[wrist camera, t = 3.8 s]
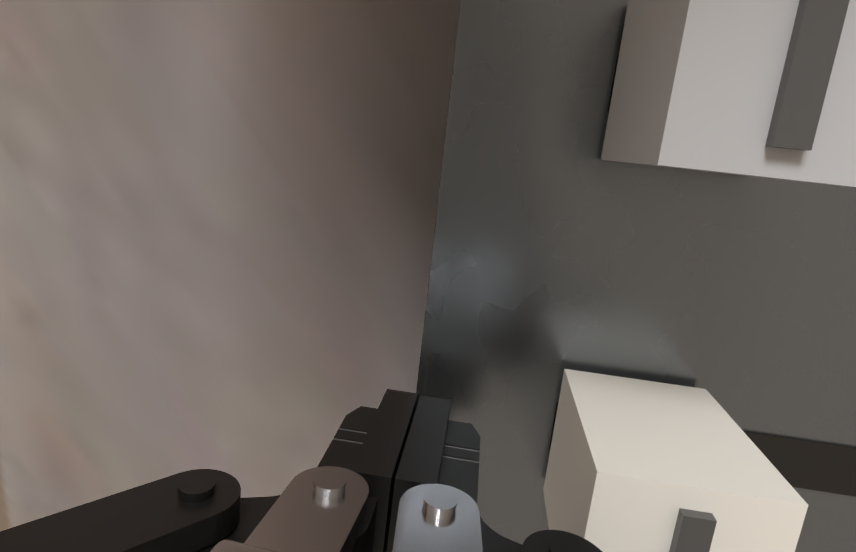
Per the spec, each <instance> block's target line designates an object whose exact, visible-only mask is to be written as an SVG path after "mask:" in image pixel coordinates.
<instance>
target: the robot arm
mask: <svg viewBox="0 0 856 552" xmlns="http://www.w3.org/2000/svg"><path fill="white" fill-rule="evenodd" d="M451 401H452V399H449V398H442V397H436V396H429V395H423V394H421V395H420V398H419V401H418V394H416V393H410V392H403V391H397V390H390V389H387V391H386V393H385V395H384V397H383V399H382V402H381V404H380V406H379V408H378V409H375V408H369V407H362V406H361V407H359V408H357V409H356V410H354V411H352V412H351V413H349V414H348V415H346V417H345V419H344V420H343V422H342V424H341V426H340V429H338V431H337V433H336V435H335V436H334V440H332V442H331V444H330V445H329V447H328V449H327V451H326V453H325V454H324V456H323V458H322V460H321V461H320V463H319V465H318V467H316V468H312V469H308V470H306V471H303V472H301V473H300V474H298V475H297V476H295V477H294V479H293V480H292V481H291V482H290V483H289V485H288V486H287V487H286V489H285V490H284V491H283V493H282V494H281V495H278V496H271V497H254V498H240V494H241V488H240V484H239V482H238V481H237V480H236V478H234V477H233V476H232V475H230V474H228V473H225V472H222V471H218V470H211V469H198V470H190V471H185V472H182V473H178V474H175V475H172V476H169V477H166V478H163V479H160V480H157V481H154V482H151V483H148V484H145V485H142V486H138V487H135V488H132V489H129V490H126V491H123V492H120V493H117V494H114V495H111V496H108V497H105V498H102V499H99V500H96V501H93V502H90V503H86V504H83V505H80V506H77V507H74V508H71V509H68V510H65V511H62V512H59V513H56V514H53V515H50V516H47V517H44V518H41V519H38V520H34V521H31V522H28V523H25V524H22V525H19V526H16V527H13V528H10V529H7V530H4V531H1V532H0V552H602V551H601V550H600V549H599V548H598V547H596V546H595V545H594V544H592V543H591V542H589V541H588V540H586V539H584V538H582V537H580V536H578V535H575V534H573V533H570V532H566V531H561V530H541V531H537V532H535V533H533V534H531V535H529V536H528V537H527V538H526V539H525V540H524V542H523V545H522V544H519V543H517V542H515V541H512V540H510V539H508V538H506V537H503V536H502V535H500V534H498V533H497V532H495V531H494V530H492V529H491V528H490V527H489V526H488V525H487V524H486V523H485V522H484V521H483V520H482V518H481V516H480V512H479V508H478V506H477V496H478V476H479V456H480V435H479V434H478V432H477V431H476V429H475V428H474V426H473V425H472V424H470V423H464V422H458V421H451V420H449V417H450V409H451Z"/></svg>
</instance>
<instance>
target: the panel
mask: <svg viewBox="0 0 856 552" xmlns="http://www.w3.org/2000/svg"><path fill="white" fill-rule="evenodd" d="M627 6H628V0H460V9H459V18H458V27H457V36H456V45H455V54H454V63H453V72H452V80H451V89H450V98H449V107H448V116H447V125H446V134H445V143H444V152H443V160H442V169H441V178H440V187H439V196H438V205H437V214H436V223H435V232H434V240H433V249H432V258H431V267H430V276H429V285H428V294H427V303H426V312H425V320H424V329H423V338H422V347H421V356H420V365H419V374H418V383H417V392H416V394H418V401H419V398H420V395H421V394H423V395H429V396H436V397H442V398H449V399H452V401H451V409H450V417H449V420H451V421H458V422H464V423H470V424H472V425H473V426H474V428H475V429H476V431H477V432H478V434H479V435H480V456H479V476H478V496H477V506H478V508H479V512H480V516H481V518H482V520H483V521H484V522H485V523H486V524H487V525H488V526H489V527H490V528H491V529H492V530H494V531H495V532H497V533H498V534H500V535H502V536H503V537H506V538H508V539H510V540H512V541H515V542H517V543H519V544H522V545H523V542H524V540H525V539H526V538H527V537H528V536H529V535H531V534H533V533H535V532H537V531H541V530H549V527H548V520H547V513H546V506H545V499H544V492H543V489H544V483H545V477H546V471H547V466H548V460H549V454H550V448H551V443H552V437H553V431H554V425H555V420H556V414H557V408H558V402H559V397H560V391H561V385H562V379H563V374H564V369H570V370H577V371H584V372H591V373H598V374H605V375H612V376H619V377H626V378H633V379H640V380H647V381H653V382H660V383H667V384H674V385H681V386H688V387H695V388H702V389H706V390H707V391H708V392H709V393H710V394H711V395H712V397H713V398H714V399H715V400H716V401H717V402H718V403H719V404H720V406H721V407H722V408H723V409H724V410H725V411H726V412H727V414H728V415H729V416H730V417H731V418H732V419H733V420H734V421H735V423H736V424H737V425H738V426H739V427H740V428H741V429H742V430H743V432H744V433H745V434H746V435H747V436H748V437H749V438H750V440H751V441H752V442H753V443H754V444H755V445H756V446H757V447H758V449H759V450H760V451H761V452H762V453H763V454H764V455H765V456H766V458H767V459H768V460H769V461H770V462H771V463H772V464H773V466H774V467H775V468H776V469H777V470H778V471H779V472H780V473H781V475H782V476H783V477H784V478H785V479H786V480H787V481H788V482H789V484H790V485H791V486H792V487H793V488H794V489H795V490H796V492H797V493H798V494H799V495H800V496H801V497H802V498H803V499H804V501H805V502H806V503H807V504H808V509H807V512H806V515H805V519H804V522H803V526H802V529H801V532H800V536H799V539H798V543H797V546H796V549H795V552H856V187H848V186H838V185H828V184H819V183H809V182H799V181H790V180H780V179H770V178H761V177H751V176H742V175H733V174H724V173H715V172H706V171H698V170H689V169H680V168H671V167H662V166H653V165H644V164H635V163H626V162H617V161H608V160H601V155H602V149H603V144H604V138H605V132H606V126H607V121H608V115H609V109H610V103H611V98H612V92H613V86H614V80H615V75H616V69H617V63H618V57H619V52H620V46H621V40H622V34H623V29H624V23H625V17H626V11H627Z"/></svg>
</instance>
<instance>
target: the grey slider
mask: <svg viewBox="0 0 856 552" xmlns="http://www.w3.org/2000/svg"><path fill="white" fill-rule="evenodd" d="M601 160H608V161H617V162H626V163H635V164H644V165H653V166H662V167H671V168H680V169H689V170H698V171H706V172H715V173H724V174H733V175H742V176H751V177H761V178H770V179H780V180H790V181H799V182H809V183H819V184H828V185H838V186H848V187H856V0H628V6H627V11H626V17H625V23H624V29H623V34H622V40H621V46H620V52H619V57H618V63H617V69H616V75H615V80H614V86H613V92H612V98H611V103H610V109H609V115H608V121H607V126H606V132H605V138H604V144H603V149H602V155H601Z"/></svg>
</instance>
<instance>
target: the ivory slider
mask: <svg viewBox="0 0 856 552" xmlns="http://www.w3.org/2000/svg"><path fill="white" fill-rule="evenodd" d="M543 492H544V499H545V506H546V513H547V520H548V527H549V530H561V531H566V532H570V533H573V534H575V535H578V536H580V537H582V538H584V539H586V540H588V541H589V542H591V543H592V544H594V545H595V546H596V547H598V548H599V549H600V550H601V551H602V552H795V549H796V546H797V543H798V539H799V536H800V532H801V529H802V526H803V522H804V519H805V515H806V512H807V509H808V504H807V503H806V502H805V501H804V499H803V498H802V497H801V496H800V495H799V494H798V493H797V492H796V490H795V489H794V488H793V487H792V486H791V485H790V484H789V482H788V481H787V480H786V479H785V478H784V477H783V476H782V475H781V473H780V472H779V471H778V470H777V469H776V468H775V467H774V466H773V464H772V463H771V462H770V461H769V460H768V459H767V458H766V456H765V455H764V454H763V453H762V452H761V451H760V450H759V449H758V447H757V446H756V445H755V444H754V443H753V442H752V441H751V440H750V438H749V437H748V436H747V435H746V434H745V433H744V432H743V430H742V429H741V428H740V427H739V426H738V425H737V424H736V423H735V421H734V420H733V419H732V418H731V417H730V416H729V415H728V414H727V412H726V411H725V410H724V409H723V408H722V407H721V406H720V404H719V403H718V402H717V401H716V400H715V399H714V398H713V397H712V395H711V394H710V393H709V392H708V391H707V390H706V389H702V388H695V387H688V386H681V385H674V384H667V383H660V382H653V381H647V380H640V379H633V378H626V377H619V376H612V375H605V374H598V373H591V372H584V371H577V370H570V369H564V374H563V379H562V385H561V391H560V397H559V402H558V408H557V414H556V420H555V425H554V431H553V437H552V443H551V448H550V454H549V460H548V466H547V471H546V477H545V483H544V489H543Z"/></svg>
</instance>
